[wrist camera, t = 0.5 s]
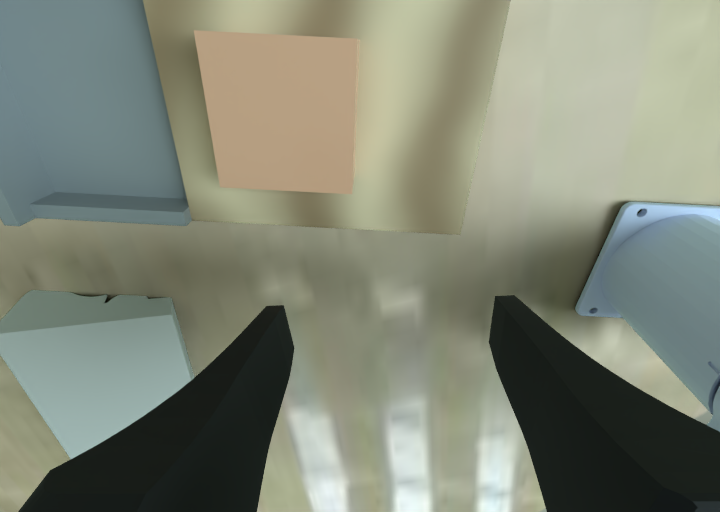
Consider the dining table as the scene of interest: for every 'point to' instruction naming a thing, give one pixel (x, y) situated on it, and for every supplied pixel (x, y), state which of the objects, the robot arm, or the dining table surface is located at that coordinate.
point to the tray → (84, 116)
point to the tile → (281, 109)
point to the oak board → (374, 107)
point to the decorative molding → (94, 360)
